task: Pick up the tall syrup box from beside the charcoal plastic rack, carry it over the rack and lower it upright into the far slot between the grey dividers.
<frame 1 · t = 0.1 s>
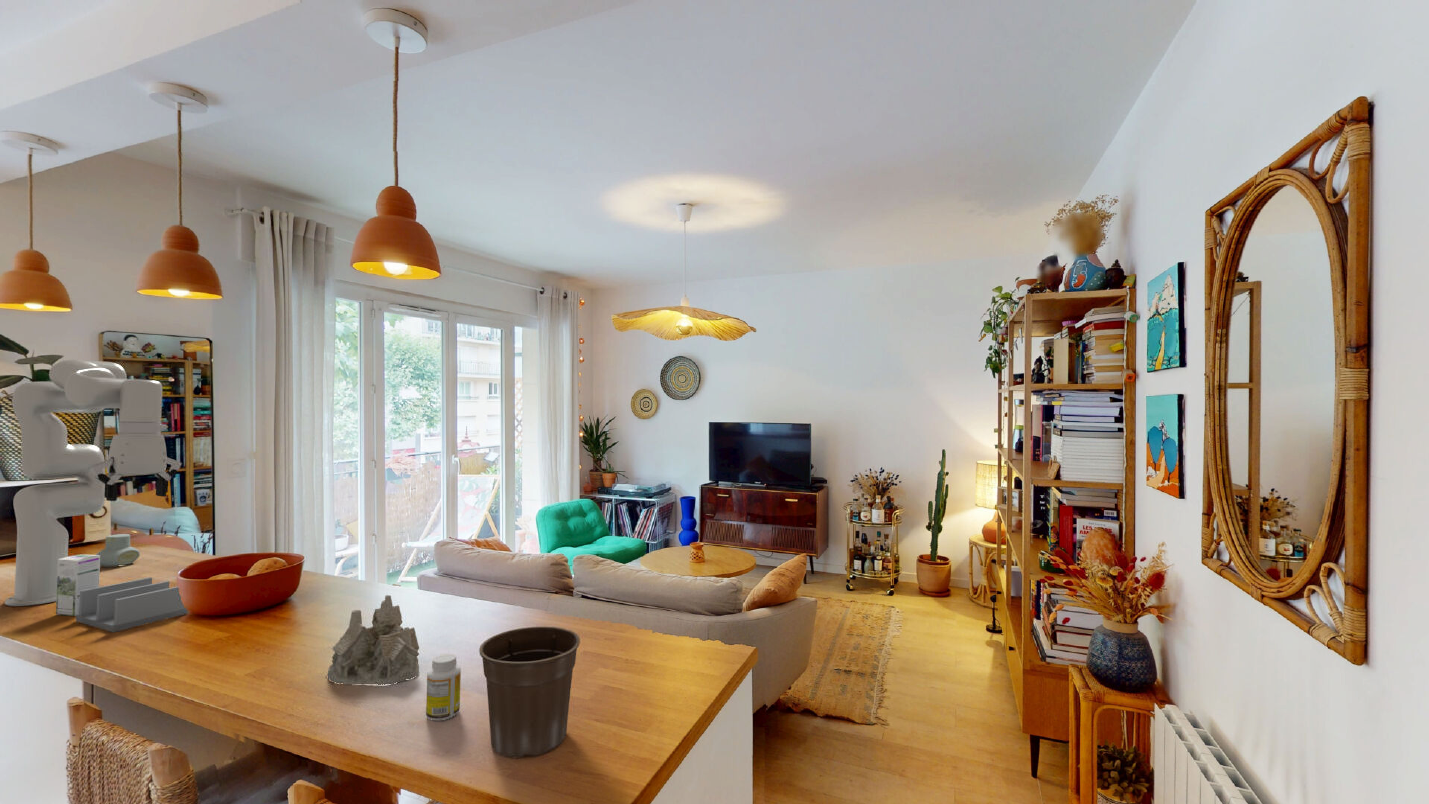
hand: (136, 498, 149), 31 cm above the kitchen island, tool pointing down, fingers open, 9 cm apart
syrup box: (77, 613, 156), on the kitchen island
slot rack: (133, 617, 153), on the kitchen island
supplement bottle: (442, 716, 108), on the kitchen island
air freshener: (116, 565, 201), on the kitchen island
ceramic cottage: (374, 675, 124), on the kitchen island
plant pot: (527, 740, 101), on the kitchen island
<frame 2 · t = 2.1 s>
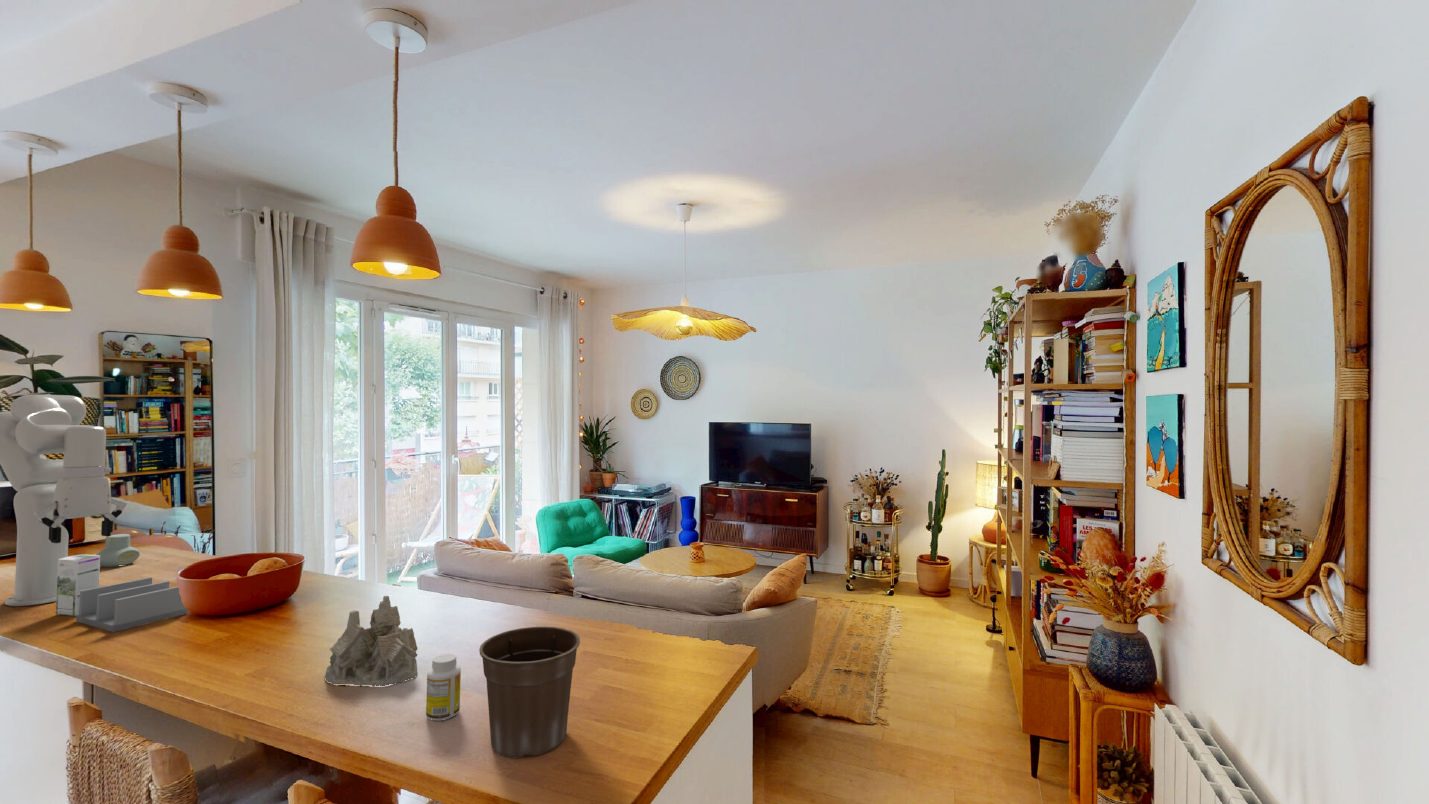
hand: (81, 539, 156), 19 cm above the kitchen island, tool pointing down, fingers open, 9 cm apart
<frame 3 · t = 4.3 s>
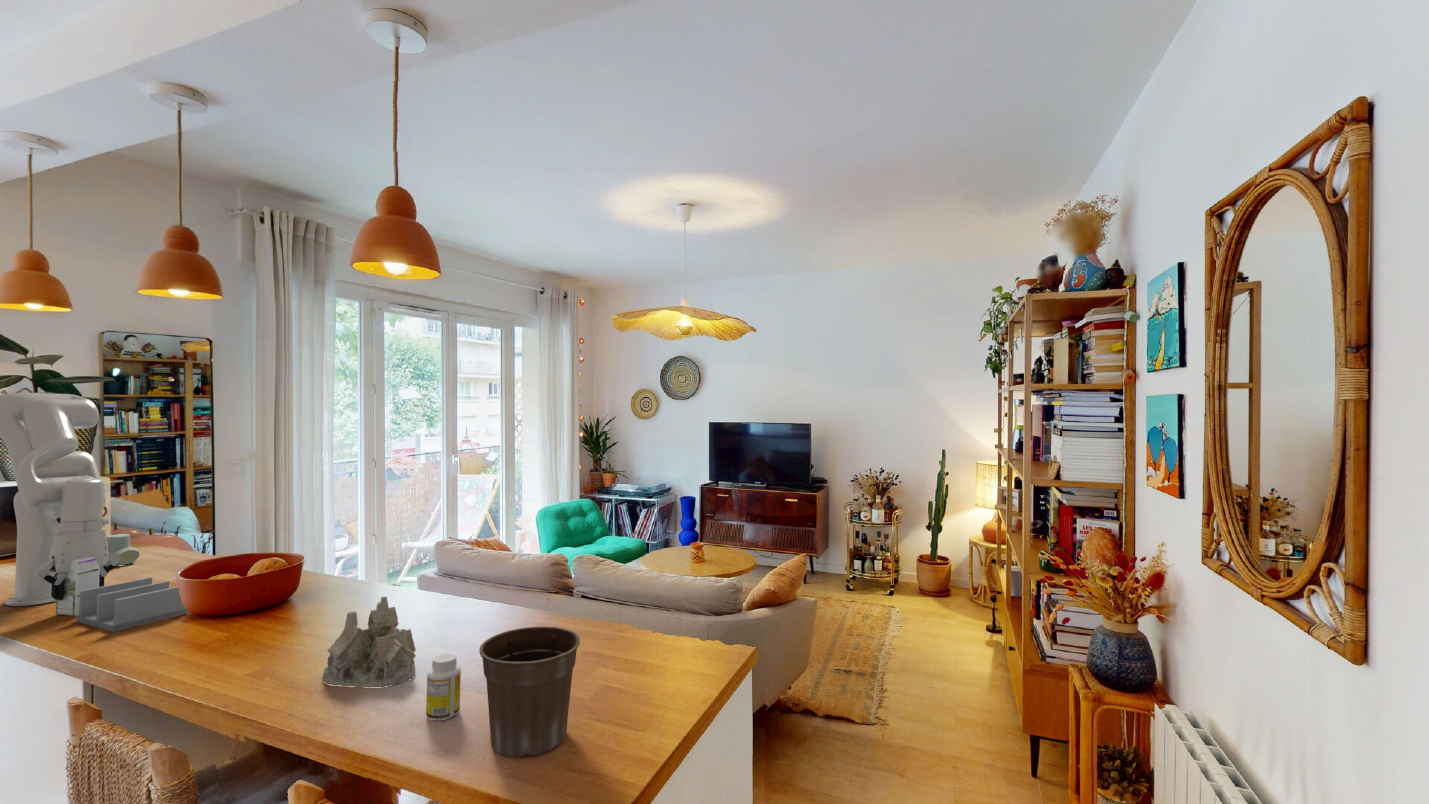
hand: (78, 595, 156), 4 cm above the kitchen island, tool pointing down, fingers closed on syrup box, 6 cm apart
syrup box: (77, 613, 156), on the kitchen island, touching gripper
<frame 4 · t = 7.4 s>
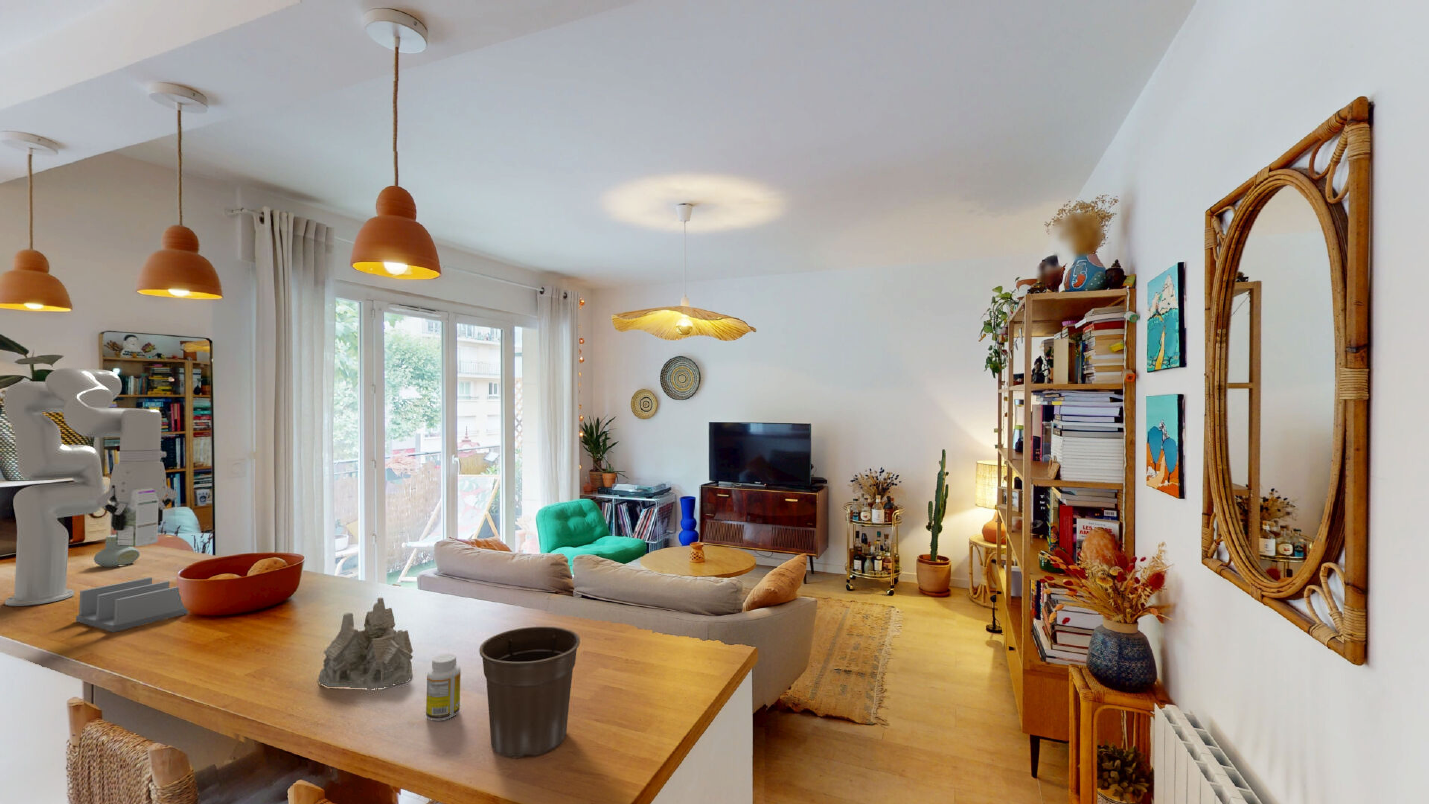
hand: (137, 527, 153), 23 cm above the kitchen island, tool pointing down, fingers closed on syrup box, 6 cm apart
syrup box: (136, 545, 152), point 19 cm above the kitchen island, touching gripper
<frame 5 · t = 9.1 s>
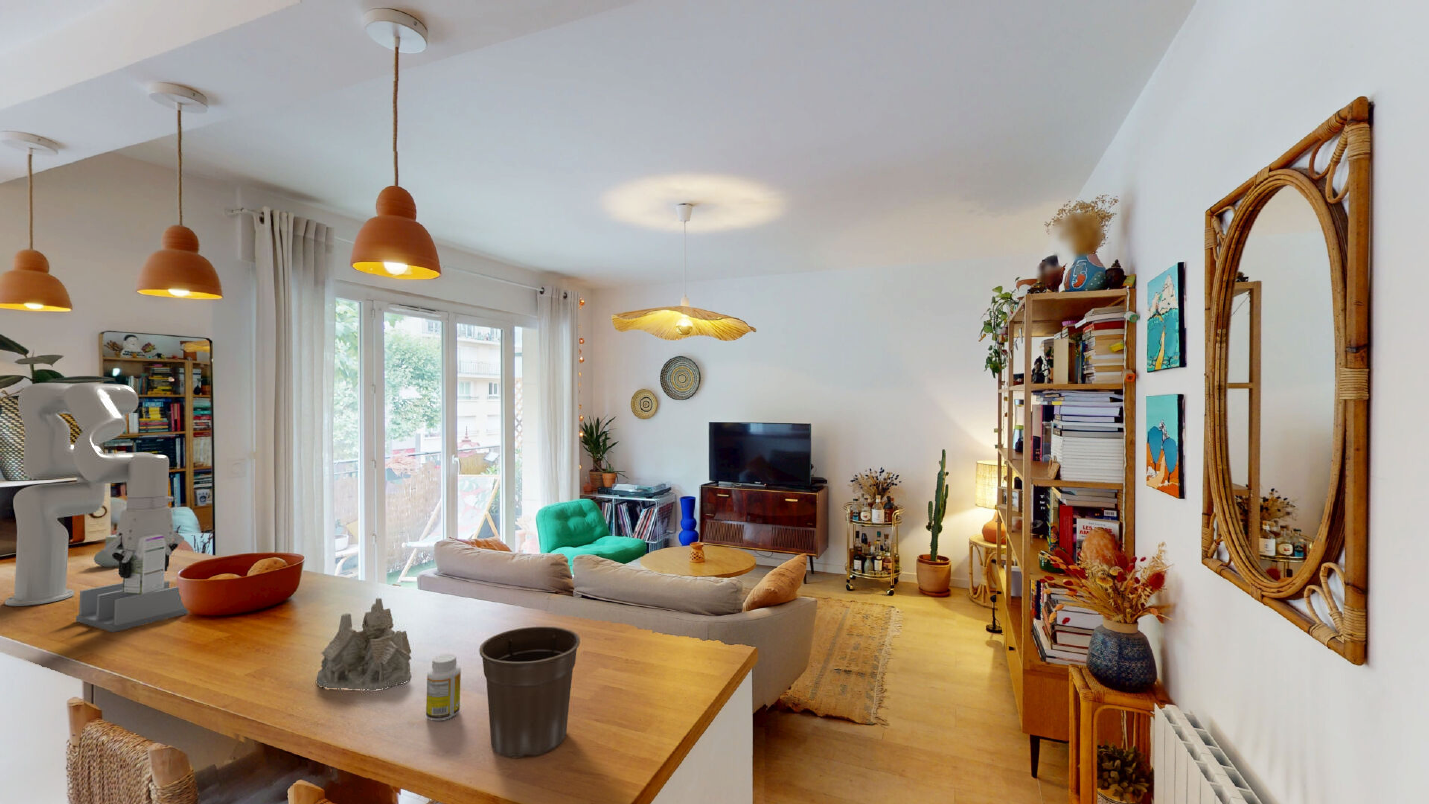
hand: (144, 573, 152), 12 cm above the kitchen island, tool pointing down, fingers closed on syrup box, 6 cm apart
syrup box: (143, 592, 152), point 7 cm above the kitchen island, touching gripper
when the fingers open (7 cm above the kitchen island, at t = 10.5 s): syrup box drops 1 cm, resting on slot rack.
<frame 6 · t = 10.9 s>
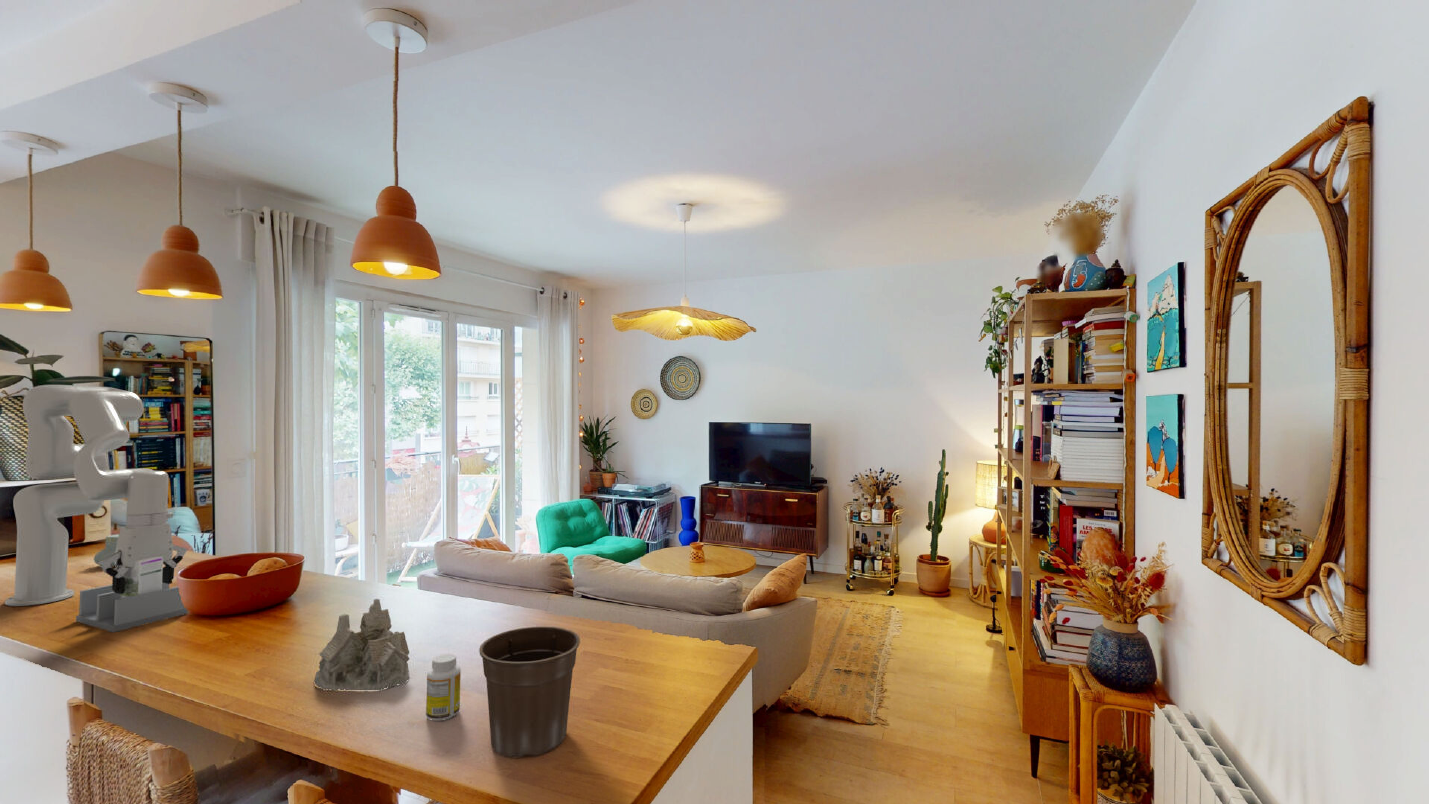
hand: (143, 587, 152), 8 cm above the kitchen island, tool pointing down, fingers open, 9 cm apart
syrup box: (140, 615, 151), point 1 cm above the kitchen island, touching slot rack
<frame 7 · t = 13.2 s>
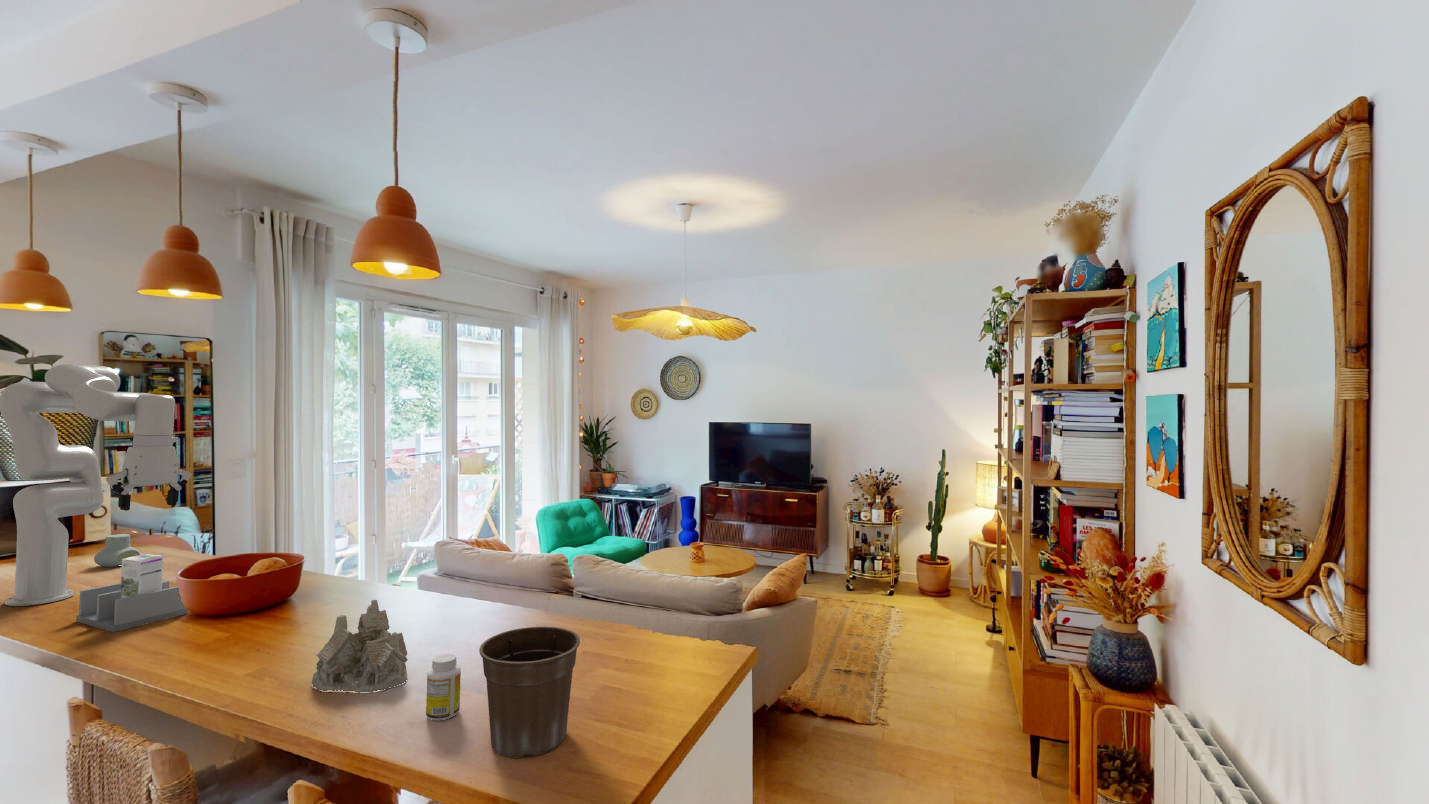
hand: (148, 507, 156), 28 cm above the kitchen island, tool pointing down, fingers open, 9 cm apart
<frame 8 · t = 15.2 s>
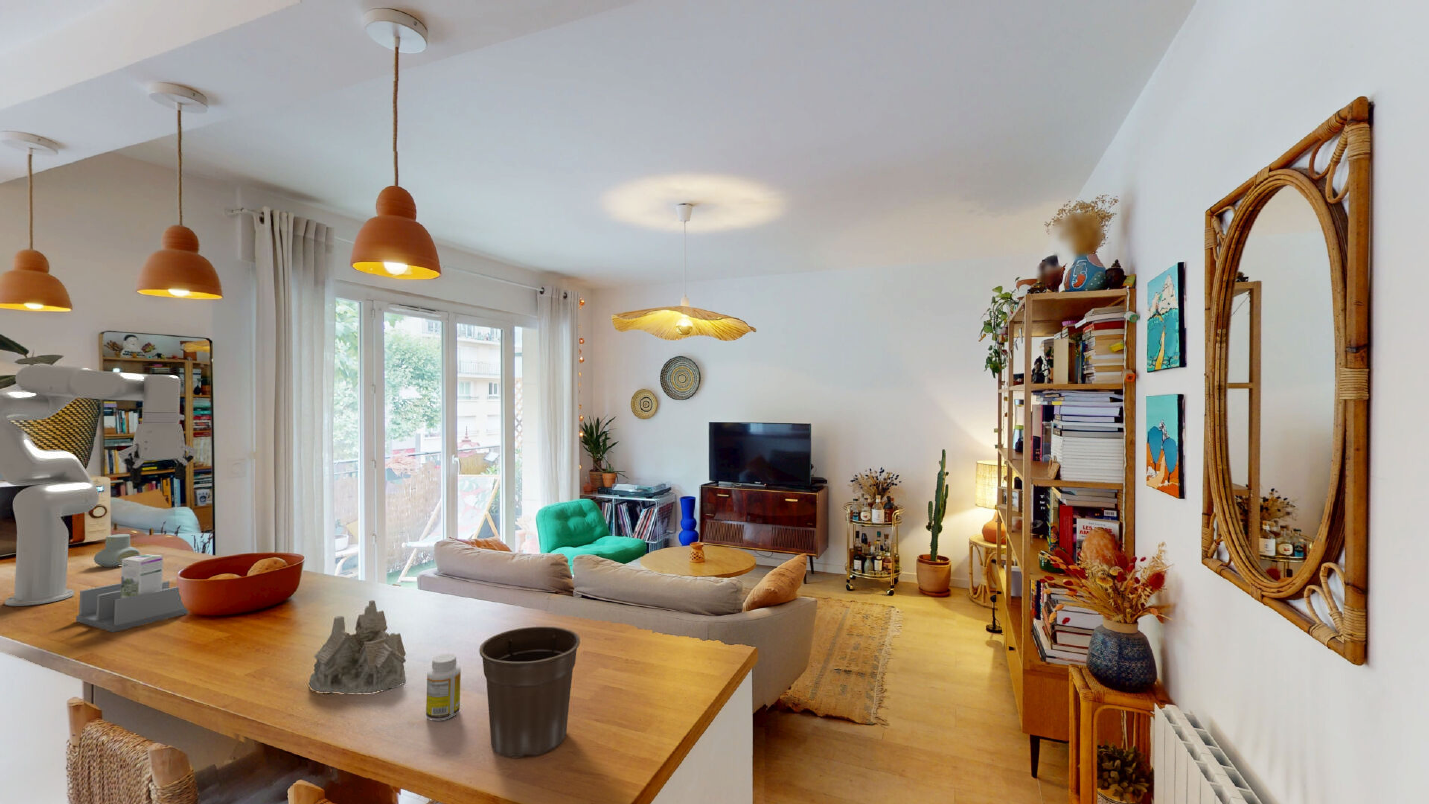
hand: (158, 480, 166), 33 cm above the kitchen island, tool pointing down, fingers open, 9 cm apart
at the end: syrup box inside the target area on the slot rack (0.3 cm from its centre), point 1.3 cm above the slot rack's base; syrup box tilted 0°; the gripper is holding nothing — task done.
